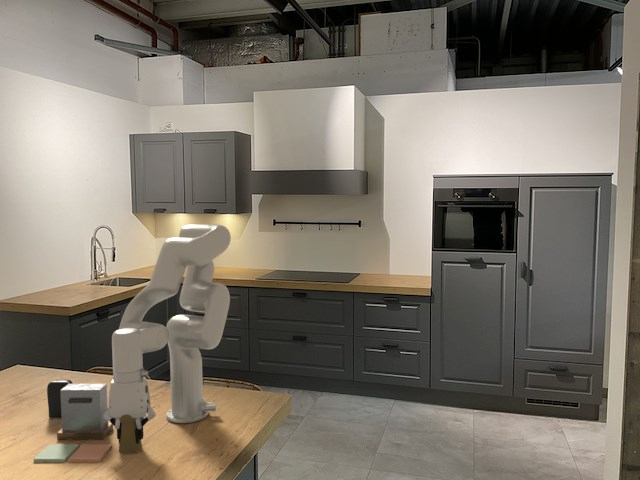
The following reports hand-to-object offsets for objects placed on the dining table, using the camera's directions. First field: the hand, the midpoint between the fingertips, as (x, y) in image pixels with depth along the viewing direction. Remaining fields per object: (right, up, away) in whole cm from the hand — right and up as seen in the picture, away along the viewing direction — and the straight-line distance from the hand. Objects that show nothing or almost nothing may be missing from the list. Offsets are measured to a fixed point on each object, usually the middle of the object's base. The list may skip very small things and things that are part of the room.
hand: (130, 440), depth 146 cm
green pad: (-19, -3, -3) cm, 19 cm away
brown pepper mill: (0, -2, 0) cm, 2 cm away
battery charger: (-29, -1, +22) cm, 36 cm away
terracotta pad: (-10, -3, -3) cm, 10 cm away
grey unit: (-16, -2, +9) cm, 18 cm away
